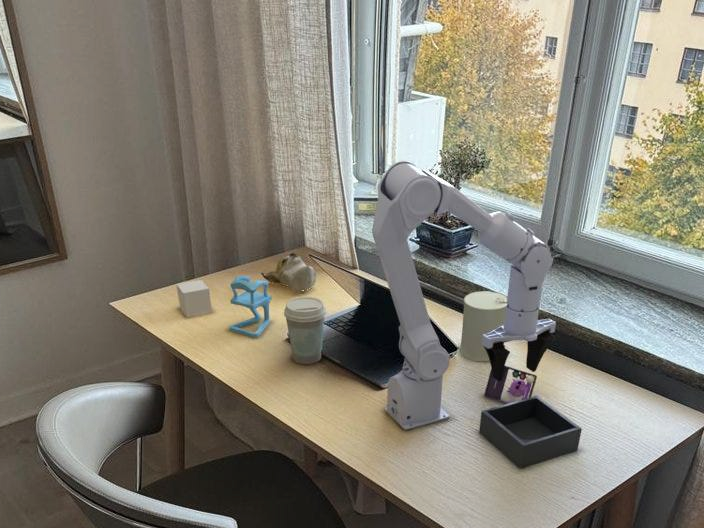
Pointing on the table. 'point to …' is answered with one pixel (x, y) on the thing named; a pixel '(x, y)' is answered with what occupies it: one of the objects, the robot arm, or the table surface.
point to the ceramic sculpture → (292, 274)
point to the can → (480, 322)
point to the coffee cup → (305, 328)
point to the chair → (250, 304)
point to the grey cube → (194, 298)
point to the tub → (529, 431)
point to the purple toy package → (516, 388)
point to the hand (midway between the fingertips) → (514, 373)
